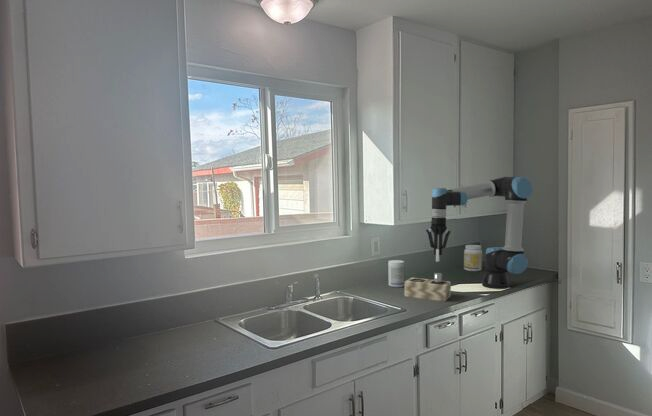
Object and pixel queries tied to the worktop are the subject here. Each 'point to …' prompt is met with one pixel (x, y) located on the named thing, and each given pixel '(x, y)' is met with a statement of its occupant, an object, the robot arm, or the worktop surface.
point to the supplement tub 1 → (396, 273)
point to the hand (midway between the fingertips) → (437, 261)
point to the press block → (427, 289)
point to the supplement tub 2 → (473, 258)
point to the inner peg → (438, 278)
